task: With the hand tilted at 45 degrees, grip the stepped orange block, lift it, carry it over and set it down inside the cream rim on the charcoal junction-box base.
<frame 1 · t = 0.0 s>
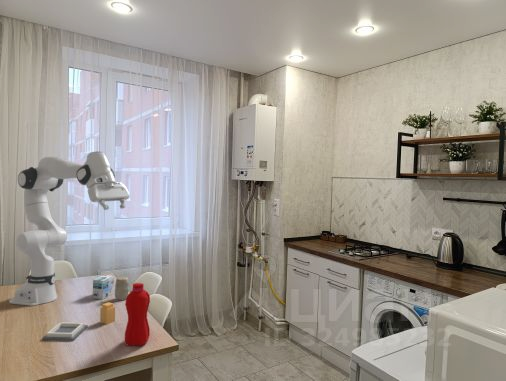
hand: (115, 208, 161), 54 cm above the table, tool tilted 30°, fingers open, 8 cm apart
water bottle: (137, 341, 147), on the table
stepped orange block: (107, 321, 164), on the table
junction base: (65, 333, 151), on the table
carving: (121, 299, 194), on the table
light bulb box: (103, 296, 198), on the table
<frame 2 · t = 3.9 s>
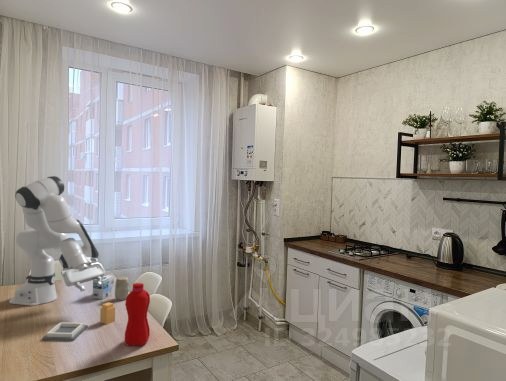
hand: (92, 287, 169), 14 cm above the table, tool tilted 45°, fingers open, 8 cm apart
nothing on the table moved.
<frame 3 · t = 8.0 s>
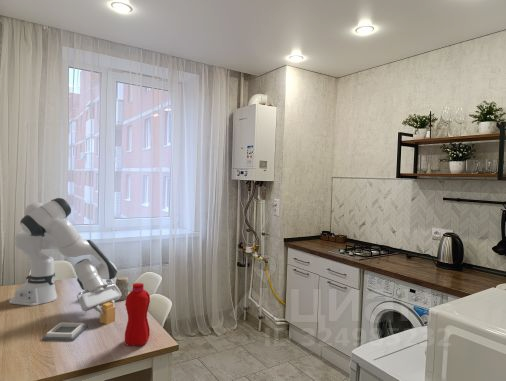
hand: (108, 311, 164), 5 cm above the table, tool tilted 45°, fingers closed on stepped orange block, 5 cm apart
stepped orange block: (107, 321, 164), on the table, touching gripper
everything else where it was.
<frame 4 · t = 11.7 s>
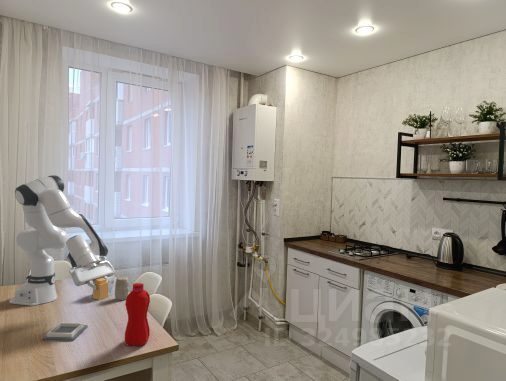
hand: (101, 287, 161), 17 cm above the table, tool tilted 45°, fingers closed on stepped orange block, 5 cm apart
stepped orange block: (100, 297, 161), point 12 cm above the table, touching gripper
everything else where it was.
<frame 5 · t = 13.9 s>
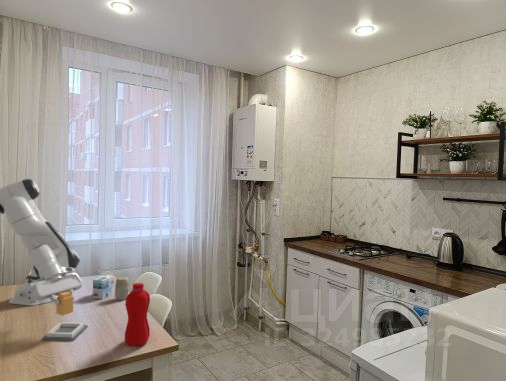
hand: (65, 301, 149), 14 cm above the table, tool tilted 45°, fingers closed on stepped orange block, 5 cm apart
stepped orange block: (64, 312, 150), point 9 cm above the table, touching gripper
everything else where it was.
when the fingers open (7 cm above the table, at t = 15.8 s): stepped orange block drops 1 cm, resting on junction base.
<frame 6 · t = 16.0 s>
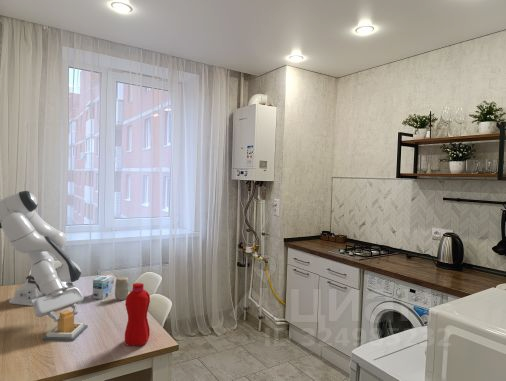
hand: (66, 317, 150), 7 cm above the table, tool tilted 45°, fingers open, 7 cm apart
stepped orange block: (65, 331, 151), point 1 cm above the table, touching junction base
everything else where it was.
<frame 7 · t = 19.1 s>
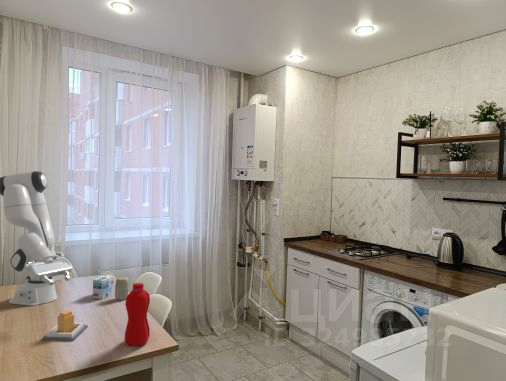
hand: (60, 281, 156), 21 cm above the table, tool tilted 50°, fingers open, 8 cm apart
nothing on the table moved.
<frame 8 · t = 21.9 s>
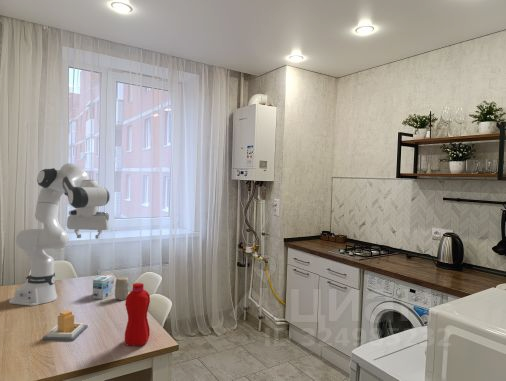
hand: (88, 238, 176), 37 cm above the table, tool pointing down, fingers open, 8 cm apart
nothing on the table moved.
at the end: stepped orange block 0.0 cm off-centre on the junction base, point 1.0 cm above the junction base's base; stepped orange block tilted 0°; the gripper is holding nothing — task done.
